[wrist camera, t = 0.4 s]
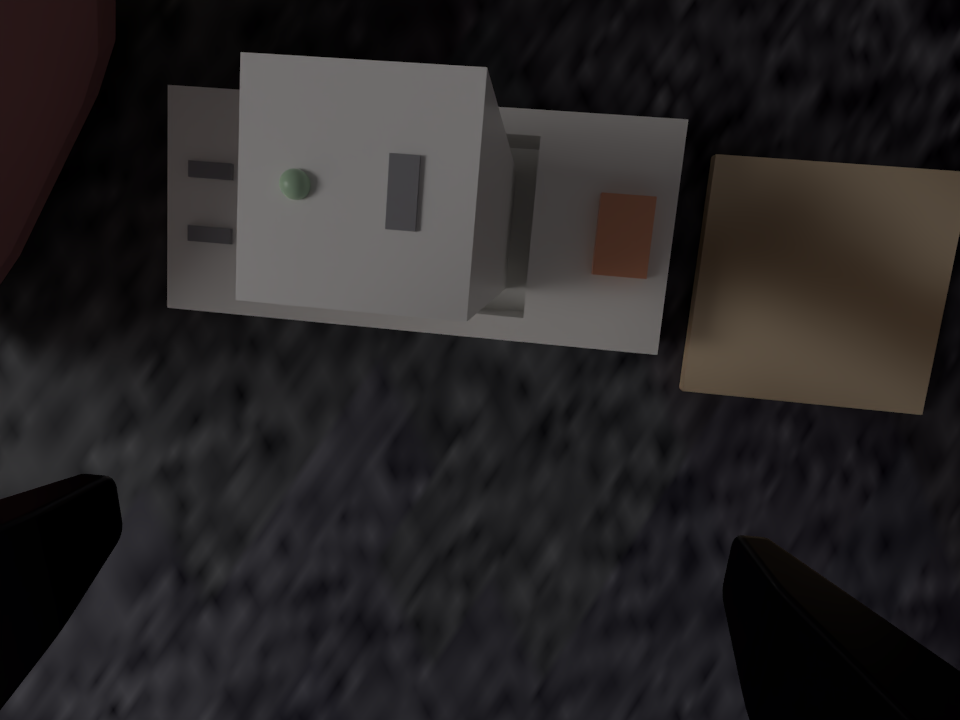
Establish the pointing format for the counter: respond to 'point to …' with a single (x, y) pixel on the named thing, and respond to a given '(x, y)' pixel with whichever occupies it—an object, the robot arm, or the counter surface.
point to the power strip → (534, 234)
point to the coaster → (821, 282)
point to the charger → (371, 186)
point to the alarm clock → (44, 101)
